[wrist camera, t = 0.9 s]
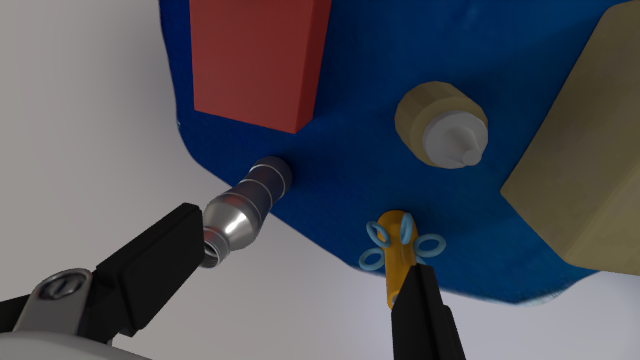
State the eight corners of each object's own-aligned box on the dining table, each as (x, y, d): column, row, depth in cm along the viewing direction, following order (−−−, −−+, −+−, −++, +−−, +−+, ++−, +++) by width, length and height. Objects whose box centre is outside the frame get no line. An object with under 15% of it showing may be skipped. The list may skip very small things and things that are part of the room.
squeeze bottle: (390, 141, 35) (403, 205, 19) (394, 80, 32) (415, 96, 16) (452, 142, 34) (522, 212, 18) (463, 78, 30) (563, 92, 14)
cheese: (559, 7, 26) (755, -55, 13) (673, 4, 24) (1038, -70, 11) (493, 193, 35) (565, 271, 22) (572, 201, 34) (702, 290, 20)
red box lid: (192, -55, 24) (145, -85, 19) (320, -33, 22) (305, -60, 17) (198, 109, 30) (165, 117, 26) (296, 132, 29) (281, 145, 24)
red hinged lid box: (233, -19, 31) (192, -44, 24) (332, -1, 30) (318, -22, 23) (231, 100, 37) (198, 109, 30) (311, 119, 36) (296, 132, 29)
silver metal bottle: (286, 147, 39) (212, 217, 21) (301, 185, 41) (246, 277, 23) (252, 157, 41) (156, 229, 23) (268, 193, 43) (192, 284, 25)
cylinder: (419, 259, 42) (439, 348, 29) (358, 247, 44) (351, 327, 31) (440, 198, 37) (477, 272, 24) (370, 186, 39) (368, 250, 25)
